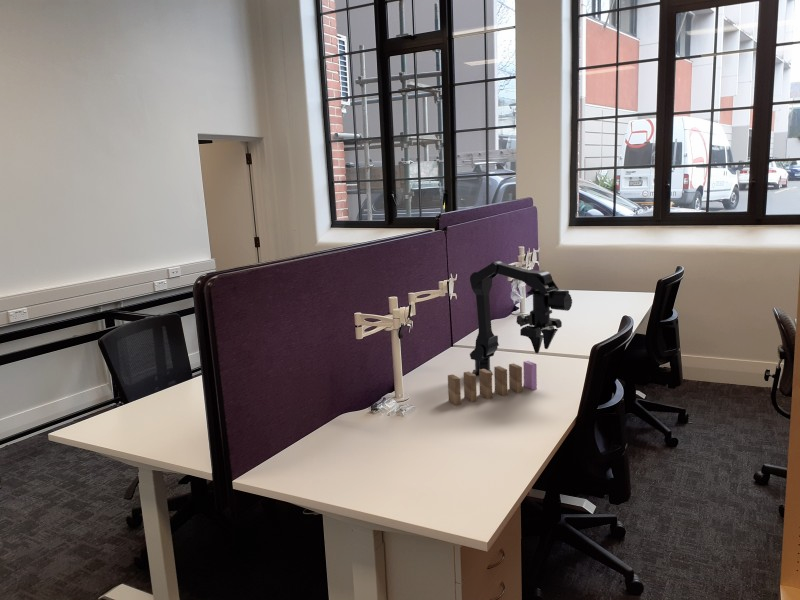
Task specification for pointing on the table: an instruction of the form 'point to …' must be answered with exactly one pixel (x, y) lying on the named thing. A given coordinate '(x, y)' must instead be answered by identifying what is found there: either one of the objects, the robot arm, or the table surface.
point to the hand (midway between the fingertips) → (541, 351)
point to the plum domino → (530, 375)
